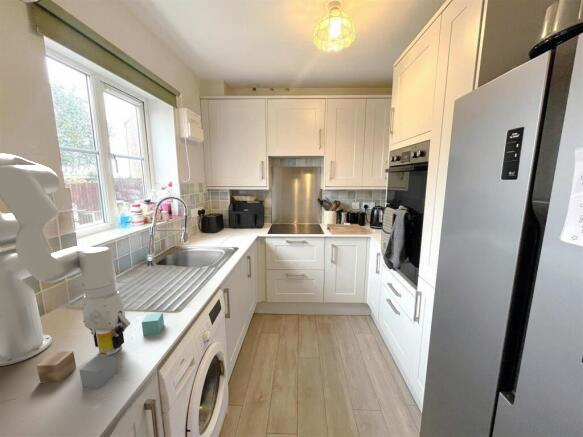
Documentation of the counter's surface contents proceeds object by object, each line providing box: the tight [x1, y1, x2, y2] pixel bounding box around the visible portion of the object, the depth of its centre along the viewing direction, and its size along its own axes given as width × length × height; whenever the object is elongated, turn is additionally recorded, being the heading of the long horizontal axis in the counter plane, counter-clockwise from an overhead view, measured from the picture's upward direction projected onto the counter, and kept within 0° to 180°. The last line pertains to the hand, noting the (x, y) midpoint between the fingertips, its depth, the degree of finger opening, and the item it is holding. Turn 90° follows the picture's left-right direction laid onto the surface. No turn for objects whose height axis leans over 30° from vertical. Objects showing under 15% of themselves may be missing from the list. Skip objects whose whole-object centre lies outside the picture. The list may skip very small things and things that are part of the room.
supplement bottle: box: [96, 326, 123, 357], centre depth 73 cm, size 6×6×10 cm
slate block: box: [79, 354, 117, 390], centre depth 62 cm, size 5×5×5 cm
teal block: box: [141, 312, 165, 337], centre depth 83 cm, size 5×5×5 cm
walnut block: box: [36, 350, 77, 383], centre depth 65 cm, size 5×5×5 cm
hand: (110, 344), depth 73 cm, fingers closed on supplement bottle, 5 cm apart
